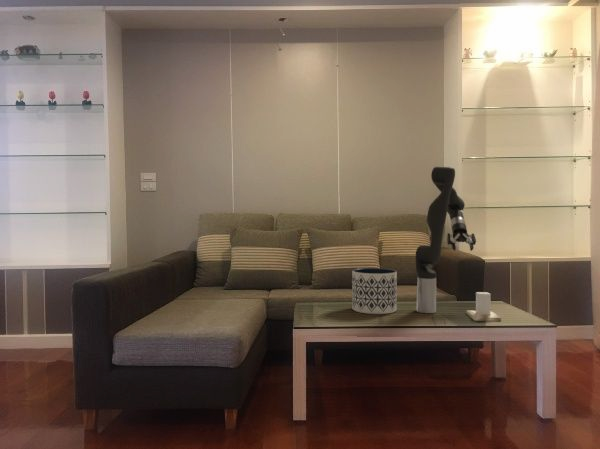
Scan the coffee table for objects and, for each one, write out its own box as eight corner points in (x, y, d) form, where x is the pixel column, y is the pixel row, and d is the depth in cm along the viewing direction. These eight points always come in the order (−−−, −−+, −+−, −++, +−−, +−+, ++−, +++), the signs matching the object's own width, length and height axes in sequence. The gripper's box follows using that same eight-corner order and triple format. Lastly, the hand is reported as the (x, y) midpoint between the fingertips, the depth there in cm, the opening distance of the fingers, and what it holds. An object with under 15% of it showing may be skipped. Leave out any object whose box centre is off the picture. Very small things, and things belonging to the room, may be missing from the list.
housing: (478, 314, 236) (478, 293, 236) (475, 312, 242) (475, 292, 241) (490, 315, 236) (490, 294, 235) (487, 312, 241) (487, 292, 241)
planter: (346, 312, 249) (346, 271, 249) (360, 304, 269) (360, 267, 269) (390, 316, 240) (390, 274, 239) (401, 308, 260) (401, 269, 259)
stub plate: (474, 320, 231) (474, 308, 231) (466, 313, 247) (466, 302, 247) (501, 321, 230) (501, 309, 230) (491, 313, 246) (491, 302, 246)
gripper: (446, 222, 268) (450, 244, 257) (473, 222, 266) (478, 245, 255) (444, 231, 273) (448, 254, 262) (471, 231, 272) (476, 254, 261)
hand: (463, 249), depth 259 cm, fingers open, 8 cm apart
